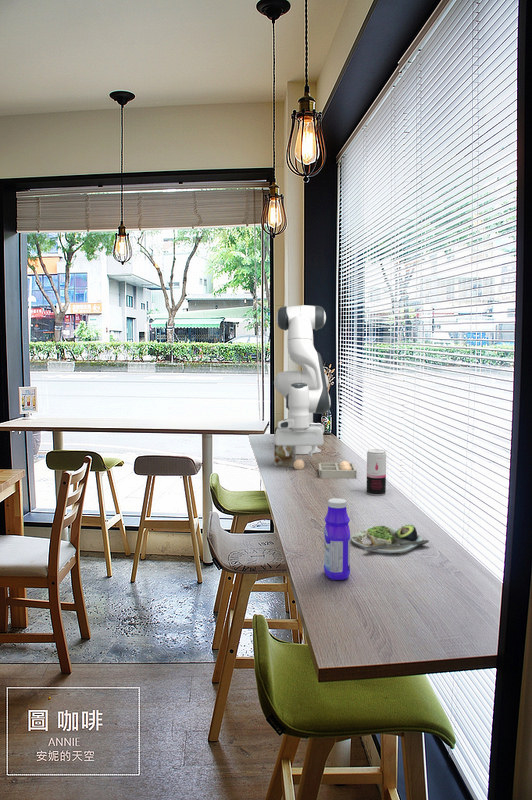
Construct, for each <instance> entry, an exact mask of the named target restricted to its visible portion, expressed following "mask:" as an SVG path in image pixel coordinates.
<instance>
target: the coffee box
mask: <svg viewBox="0 0 532 800" xmlns="http://www.w3.org/2000/svg"><path fill="white" fill-rule="evenodd" d="M277 428H278V426H275V428H274V434H275V433H276V430H277ZM273 447H274V453H273V457H274V460H273V461H274V462H273V467H276V466H277V467H279V468H280V467H281V468H283V467H284V468H294V466H293V463H294V461H295V460H297V459H296V455H297V454H296V446H286V450H287V452H289V456H286V452H285V451H284V449H283V446H279V445H275V444H274V446H273Z"/></svg>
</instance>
